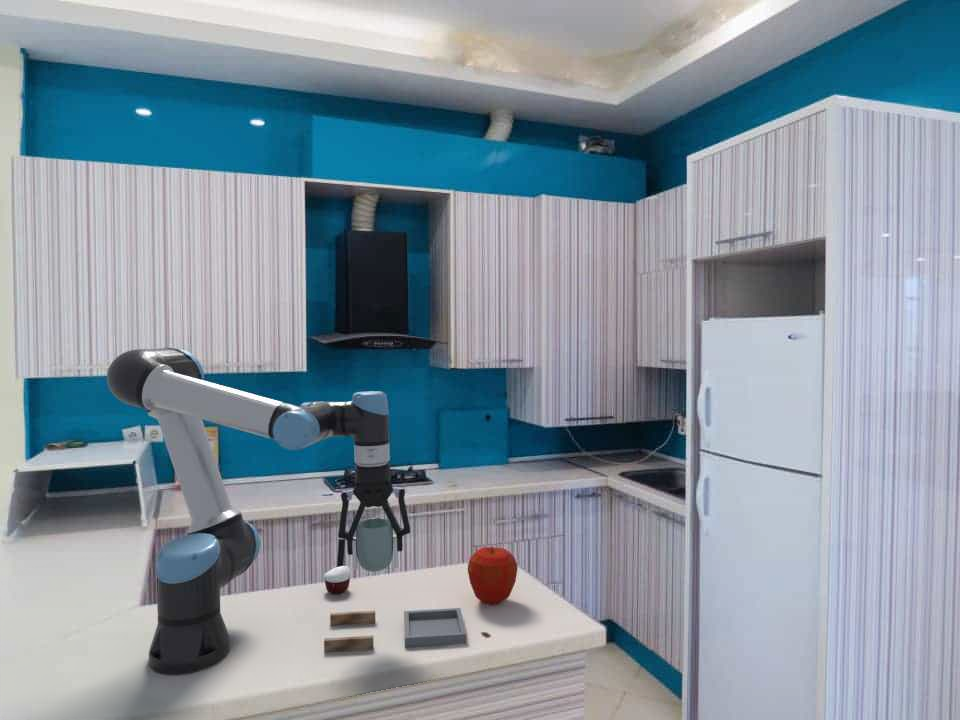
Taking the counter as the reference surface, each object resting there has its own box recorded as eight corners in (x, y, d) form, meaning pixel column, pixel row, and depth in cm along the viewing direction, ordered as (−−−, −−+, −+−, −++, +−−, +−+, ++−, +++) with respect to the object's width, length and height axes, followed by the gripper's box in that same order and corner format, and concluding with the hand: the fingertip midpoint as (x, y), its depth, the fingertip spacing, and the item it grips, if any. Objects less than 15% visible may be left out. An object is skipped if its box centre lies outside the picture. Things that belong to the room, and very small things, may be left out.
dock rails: (324, 652, 130) (324, 640, 130) (330, 624, 143) (330, 613, 143) (373, 649, 131) (373, 637, 131) (375, 621, 144) (375, 610, 144)
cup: (377, 559, 143) (376, 515, 142) (401, 567, 138) (399, 521, 137) (350, 569, 137) (348, 524, 136) (373, 578, 132) (372, 530, 131)
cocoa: (337, 601, 156) (337, 554, 155) (316, 596, 159) (316, 550, 157) (359, 585, 165) (359, 541, 164) (339, 581, 167) (339, 537, 166)
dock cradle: (404, 647, 132) (404, 638, 132) (404, 619, 145) (404, 611, 145) (466, 643, 134) (466, 634, 134) (460, 616, 147) (460, 607, 147)
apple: (479, 617, 146) (479, 557, 146) (459, 597, 157) (459, 541, 157) (526, 607, 151) (526, 549, 151) (504, 589, 162) (504, 535, 162)
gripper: (320, 469, 131) (324, 577, 132) (421, 464, 134) (424, 570, 135) (325, 462, 139) (328, 564, 140) (420, 457, 141) (423, 558, 142)
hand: (375, 567), depth 137 cm, fingers closed on cup, 8 cm apart
